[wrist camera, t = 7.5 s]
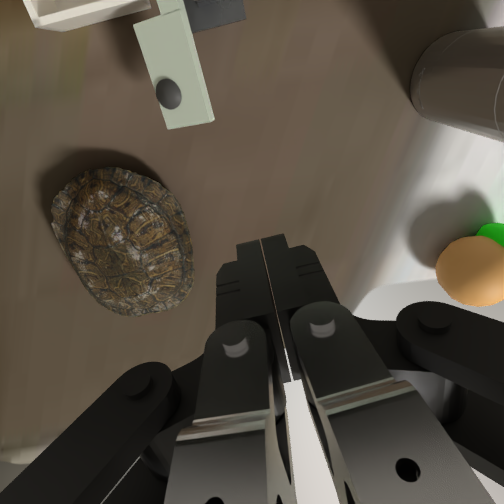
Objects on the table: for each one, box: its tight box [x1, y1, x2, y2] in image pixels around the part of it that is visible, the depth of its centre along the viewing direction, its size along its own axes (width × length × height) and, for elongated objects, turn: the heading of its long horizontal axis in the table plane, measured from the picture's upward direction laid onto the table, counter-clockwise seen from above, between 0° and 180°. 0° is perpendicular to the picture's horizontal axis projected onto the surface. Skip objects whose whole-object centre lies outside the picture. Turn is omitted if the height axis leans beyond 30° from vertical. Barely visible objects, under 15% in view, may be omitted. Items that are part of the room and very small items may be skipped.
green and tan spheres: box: [436, 223, 504, 307], centre depth 48 cm, size 11×10×12 cm
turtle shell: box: [51, 167, 194, 317], centre depth 43 cm, size 16×9×20 cm
